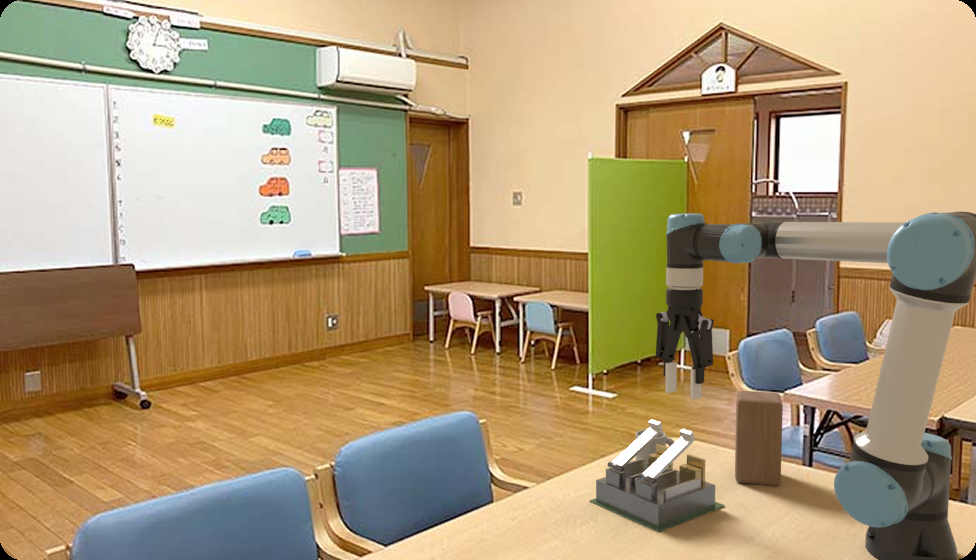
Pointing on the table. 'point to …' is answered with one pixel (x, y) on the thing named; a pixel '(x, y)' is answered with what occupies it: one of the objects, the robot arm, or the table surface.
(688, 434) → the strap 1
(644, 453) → the cup
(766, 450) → the wooden block
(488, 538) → the table surface
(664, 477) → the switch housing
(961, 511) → the table surface
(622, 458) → the silver long flat bar
